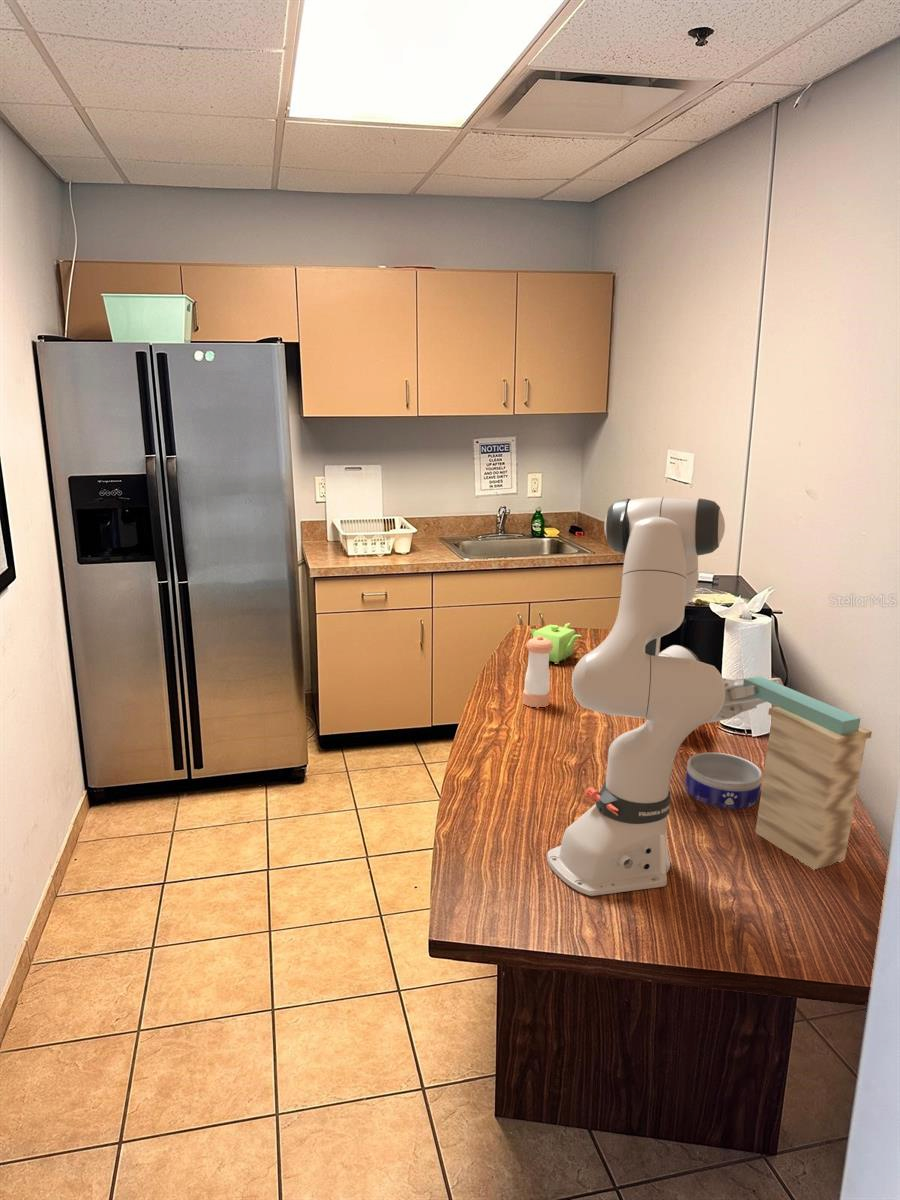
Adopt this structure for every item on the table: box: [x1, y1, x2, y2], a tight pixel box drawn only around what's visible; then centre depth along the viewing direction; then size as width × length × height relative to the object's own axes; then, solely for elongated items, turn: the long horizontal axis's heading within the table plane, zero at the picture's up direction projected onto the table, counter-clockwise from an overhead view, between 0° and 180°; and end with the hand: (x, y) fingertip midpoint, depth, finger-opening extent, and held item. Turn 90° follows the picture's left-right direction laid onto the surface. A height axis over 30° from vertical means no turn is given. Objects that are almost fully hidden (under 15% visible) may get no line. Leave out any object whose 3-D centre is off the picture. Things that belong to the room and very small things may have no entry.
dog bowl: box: [685, 751, 763, 810], centre depth 176 cm, size 15×15×6 cm
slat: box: [743, 675, 861, 735], centre depth 153 cm, size 4×23×2 cm, turn 26°
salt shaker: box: [522, 636, 553, 708], centre depth 220 cm, size 7×7×19 cm
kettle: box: [529, 622, 583, 664], centre depth 258 cm, size 15×14×11 cm
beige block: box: [754, 706, 873, 871], centre depth 153 cm, size 9×15×26 cm, turn 26°
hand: (766, 687), depth 160 cm, fingers closed on slat, 4 cm apart
